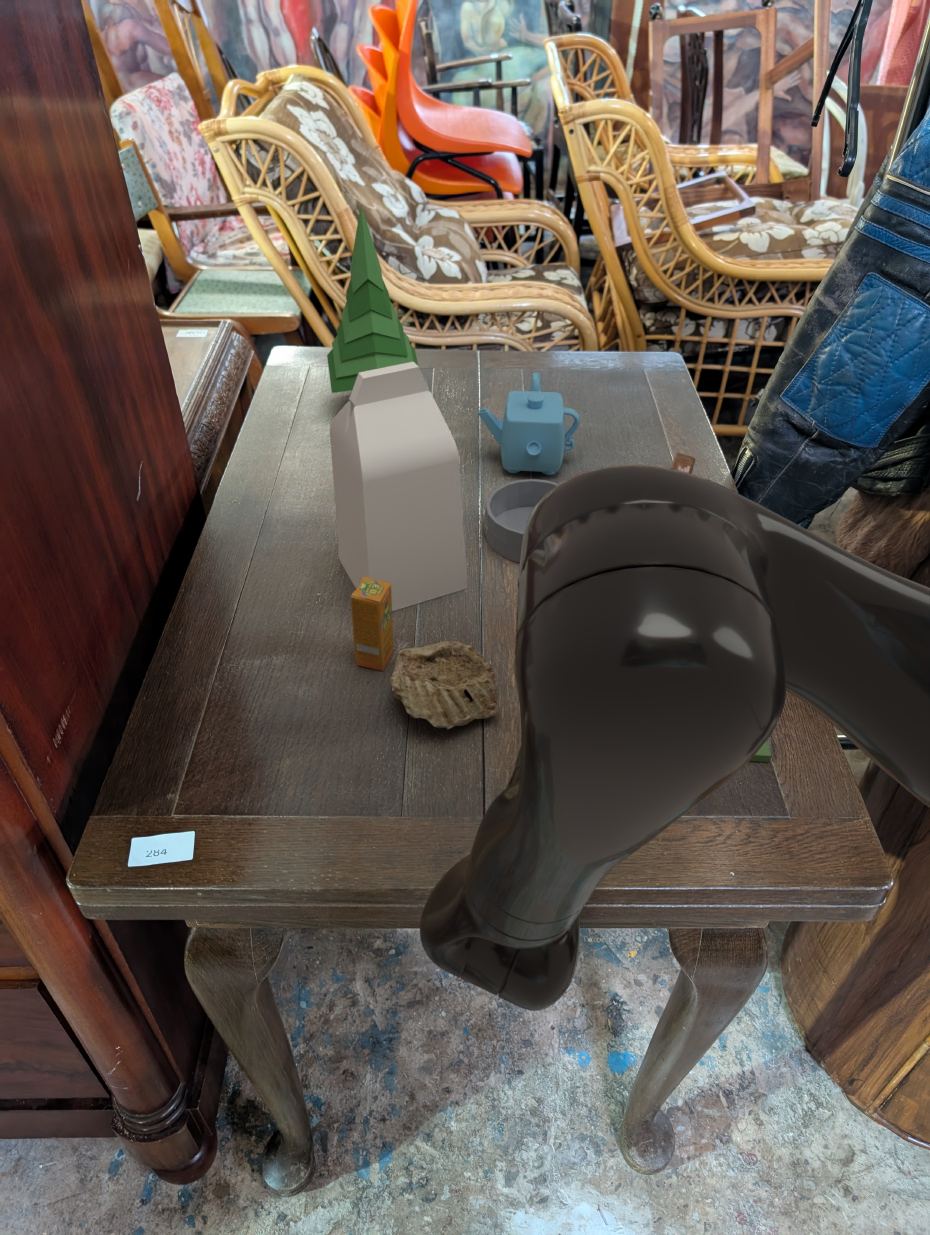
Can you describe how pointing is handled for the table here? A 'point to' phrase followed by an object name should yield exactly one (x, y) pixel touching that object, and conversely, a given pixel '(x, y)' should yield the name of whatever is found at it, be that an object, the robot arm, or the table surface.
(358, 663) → the supplement box
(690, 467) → the tin
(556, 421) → the teapot
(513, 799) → the robot arm
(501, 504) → the pan
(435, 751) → the table surface
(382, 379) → the milk
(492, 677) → the seashell
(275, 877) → the table surface
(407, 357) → the decorative tree
